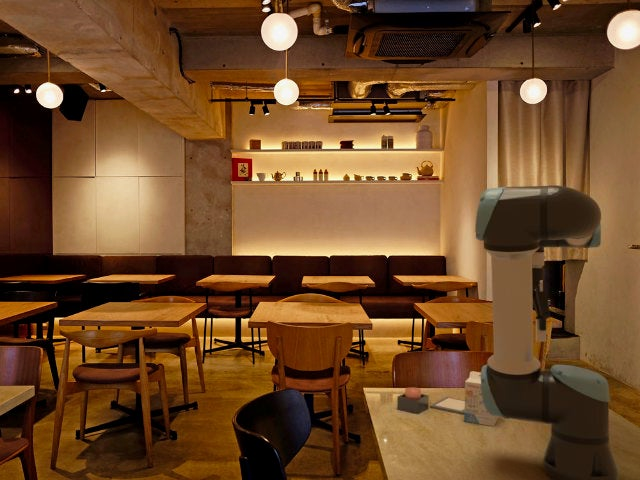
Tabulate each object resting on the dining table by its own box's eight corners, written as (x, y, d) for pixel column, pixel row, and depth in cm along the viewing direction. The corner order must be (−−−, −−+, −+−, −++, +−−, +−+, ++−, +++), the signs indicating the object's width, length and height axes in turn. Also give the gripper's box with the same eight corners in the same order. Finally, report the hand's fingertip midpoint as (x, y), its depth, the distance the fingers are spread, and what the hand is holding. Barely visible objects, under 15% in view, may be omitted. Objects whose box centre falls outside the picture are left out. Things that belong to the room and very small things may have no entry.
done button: (416, 405, 163) (416, 392, 163) (402, 402, 166) (402, 389, 166) (423, 402, 167) (423, 389, 167) (409, 399, 170) (409, 386, 170)
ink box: (463, 421, 155) (463, 375, 155) (469, 413, 162) (470, 369, 162) (494, 426, 151) (494, 378, 151) (499, 418, 158) (499, 372, 158)
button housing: (417, 414, 161) (417, 400, 161) (397, 409, 166) (397, 396, 166) (428, 408, 167) (428, 395, 167) (408, 404, 171) (408, 391, 171)
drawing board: (463, 414, 161) (463, 412, 161) (430, 407, 168) (430, 405, 168) (479, 405, 170) (479, 402, 170) (446, 398, 177) (446, 396, 177)
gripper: (563, 268, 150) (563, 345, 149) (525, 265, 175) (525, 330, 174) (537, 268, 149) (537, 345, 149) (502, 265, 174) (502, 330, 174)
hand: (530, 337), depth 162 cm, fingers open, 13 cm apart
